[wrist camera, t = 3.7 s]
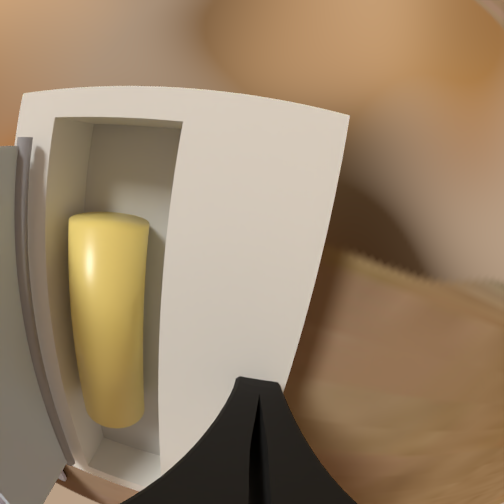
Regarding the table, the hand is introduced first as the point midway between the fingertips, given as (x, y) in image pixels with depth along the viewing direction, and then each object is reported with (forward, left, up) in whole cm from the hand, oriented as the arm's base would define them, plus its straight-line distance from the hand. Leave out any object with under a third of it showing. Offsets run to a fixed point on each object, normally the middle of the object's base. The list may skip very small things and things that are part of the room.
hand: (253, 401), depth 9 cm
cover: (-9, -1, +2) cm, 9 cm away
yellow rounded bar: (-6, 0, -2) cm, 6 cm away
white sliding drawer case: (-4, -1, -4) cm, 6 cm away
